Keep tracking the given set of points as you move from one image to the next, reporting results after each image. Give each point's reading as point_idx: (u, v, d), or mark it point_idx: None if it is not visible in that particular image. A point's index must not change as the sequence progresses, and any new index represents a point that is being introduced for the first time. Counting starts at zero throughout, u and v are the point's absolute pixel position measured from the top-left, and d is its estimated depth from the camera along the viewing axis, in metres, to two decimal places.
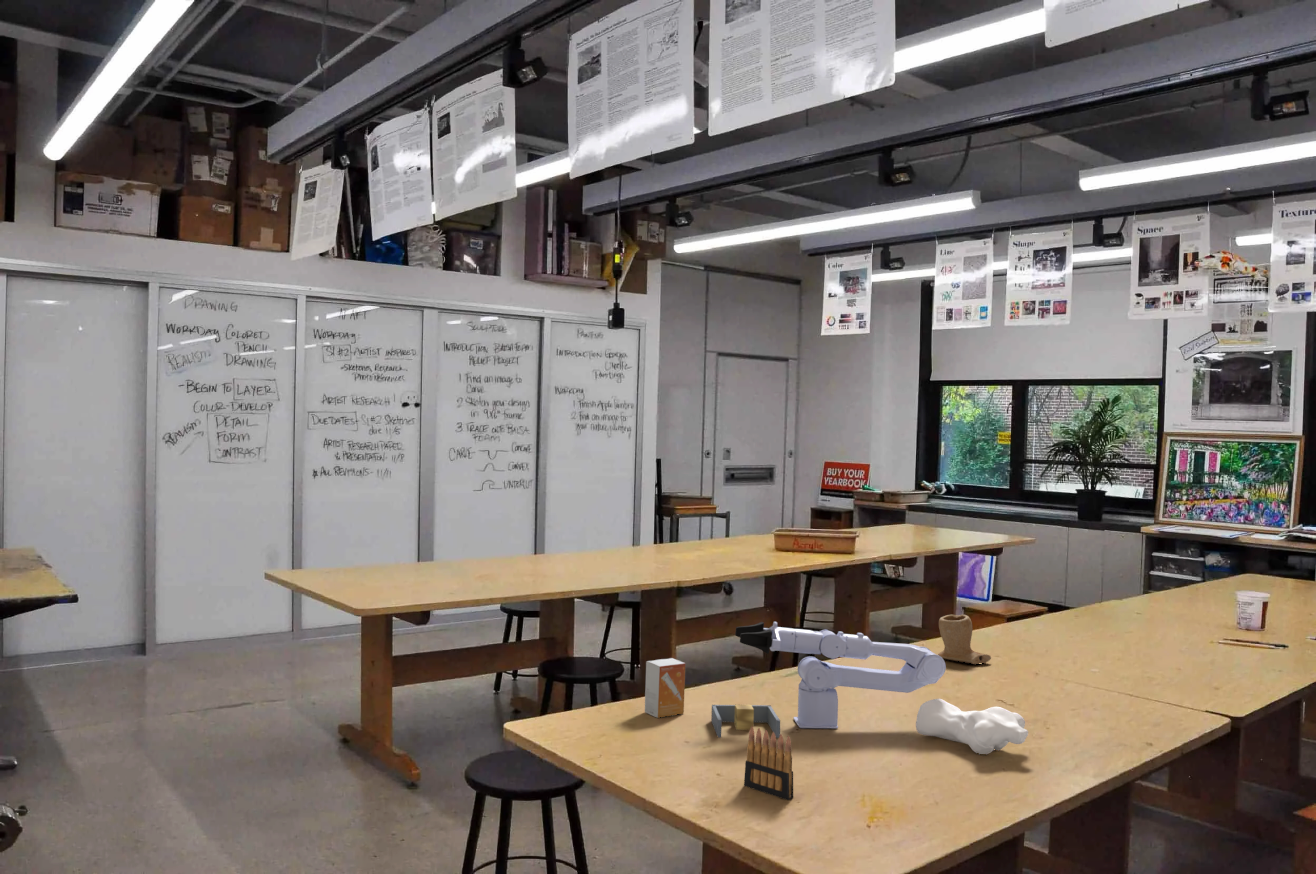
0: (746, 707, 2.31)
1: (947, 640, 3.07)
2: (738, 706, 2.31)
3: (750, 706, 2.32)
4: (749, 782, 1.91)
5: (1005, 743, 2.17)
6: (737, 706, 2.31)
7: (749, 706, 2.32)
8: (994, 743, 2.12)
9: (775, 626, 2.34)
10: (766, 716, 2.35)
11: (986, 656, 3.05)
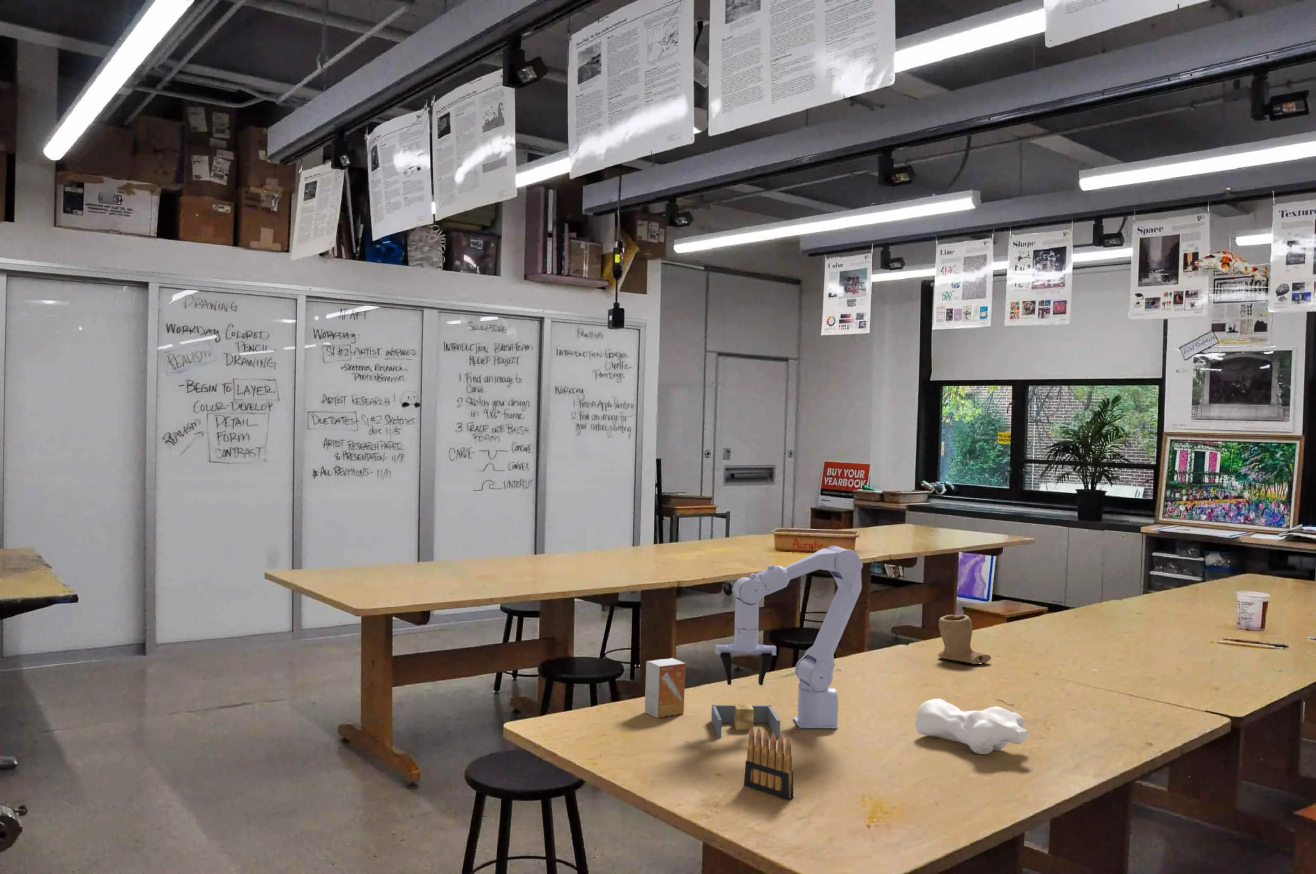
0: (746, 707, 2.31)
1: (947, 640, 3.07)
2: (738, 706, 2.31)
3: (750, 706, 2.32)
4: (749, 782, 1.91)
5: (1004, 743, 2.17)
6: (737, 706, 2.31)
7: (749, 706, 2.32)
8: (993, 743, 2.12)
9: (752, 650, 2.28)
10: (766, 716, 2.35)
11: (986, 656, 3.05)
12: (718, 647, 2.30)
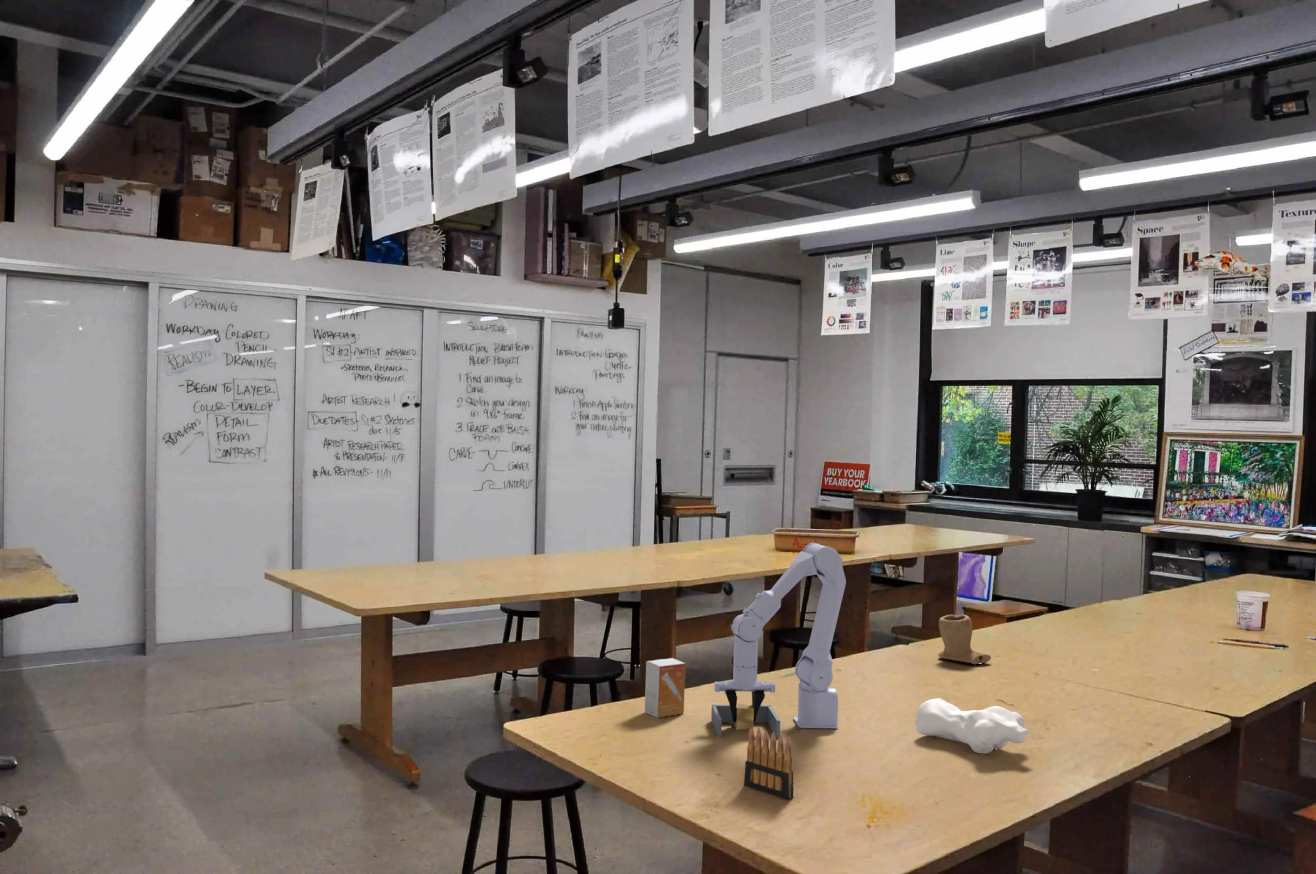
0: (746, 707, 2.31)
1: (947, 640, 3.07)
2: (738, 706, 2.31)
3: (750, 706, 2.32)
4: (749, 782, 1.91)
5: (1005, 742, 2.18)
6: (737, 706, 2.31)
7: (749, 706, 2.32)
8: (994, 742, 2.12)
9: (751, 688, 2.28)
10: (766, 716, 2.35)
11: (986, 656, 3.05)
12: (717, 684, 2.30)
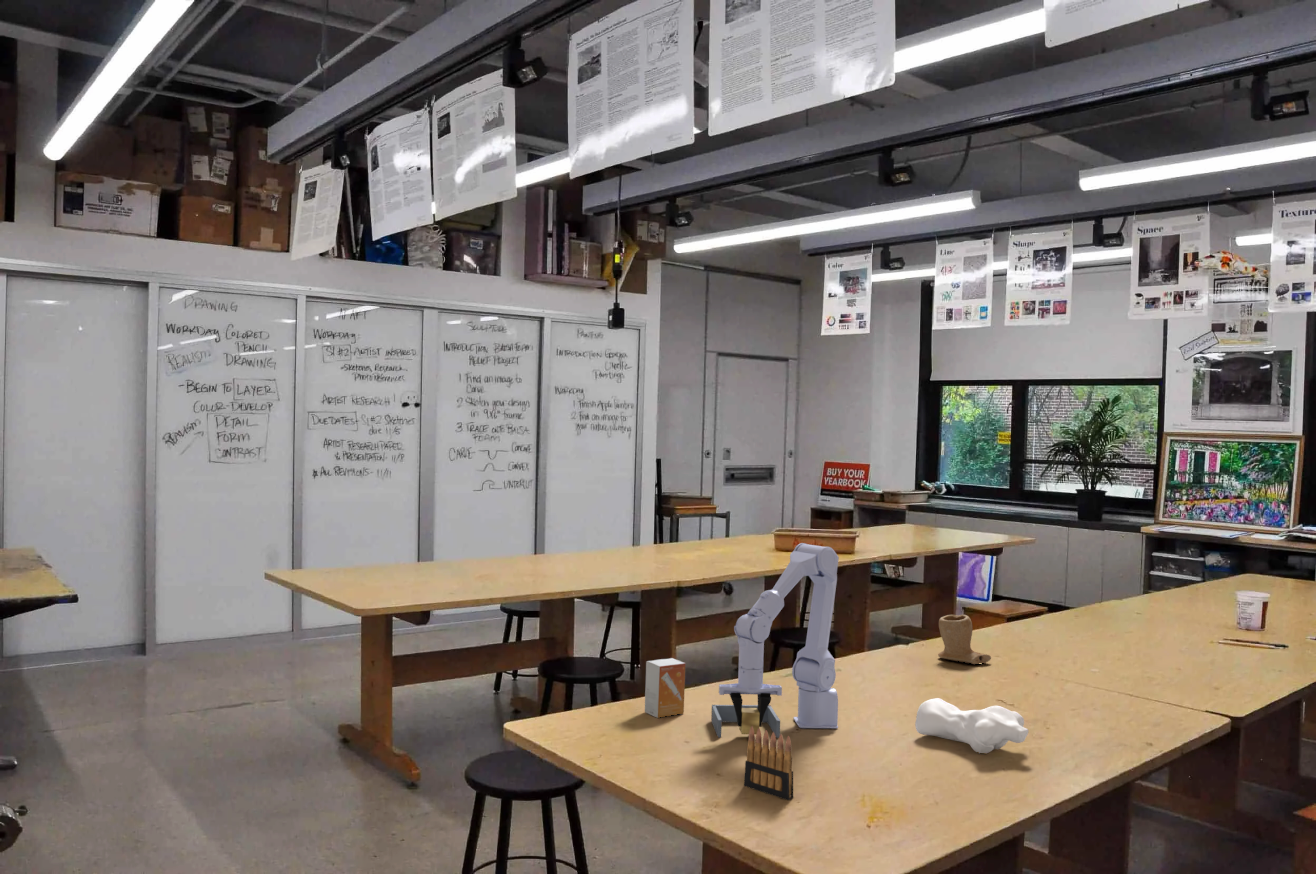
0: (751, 710, 2.22)
1: (947, 640, 3.07)
2: (743, 709, 2.23)
3: (756, 709, 2.23)
4: (749, 782, 1.91)
5: (1005, 742, 2.18)
6: (742, 709, 2.23)
7: (755, 709, 2.23)
8: (995, 742, 2.13)
9: (756, 691, 2.20)
10: (766, 716, 2.35)
11: (986, 656, 3.05)
12: (721, 687, 2.22)
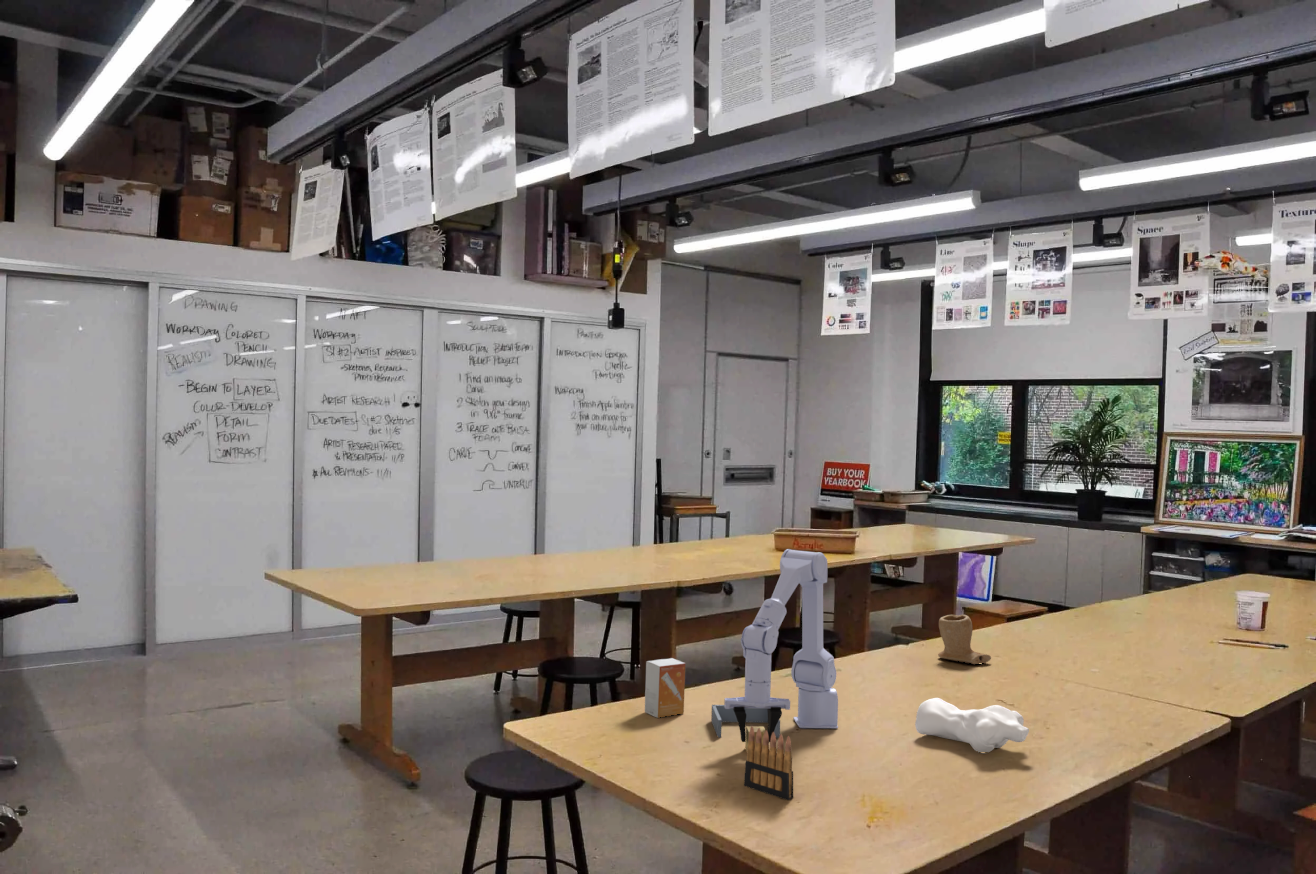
0: None
1: (947, 640, 3.07)
2: None
3: (763, 728, 2.14)
4: (749, 782, 1.91)
5: (1005, 741, 2.18)
6: (748, 728, 2.14)
7: (761, 728, 2.14)
8: (996, 741, 2.13)
9: None
10: (766, 716, 2.35)
11: (986, 656, 3.05)
12: (727, 701, 2.12)
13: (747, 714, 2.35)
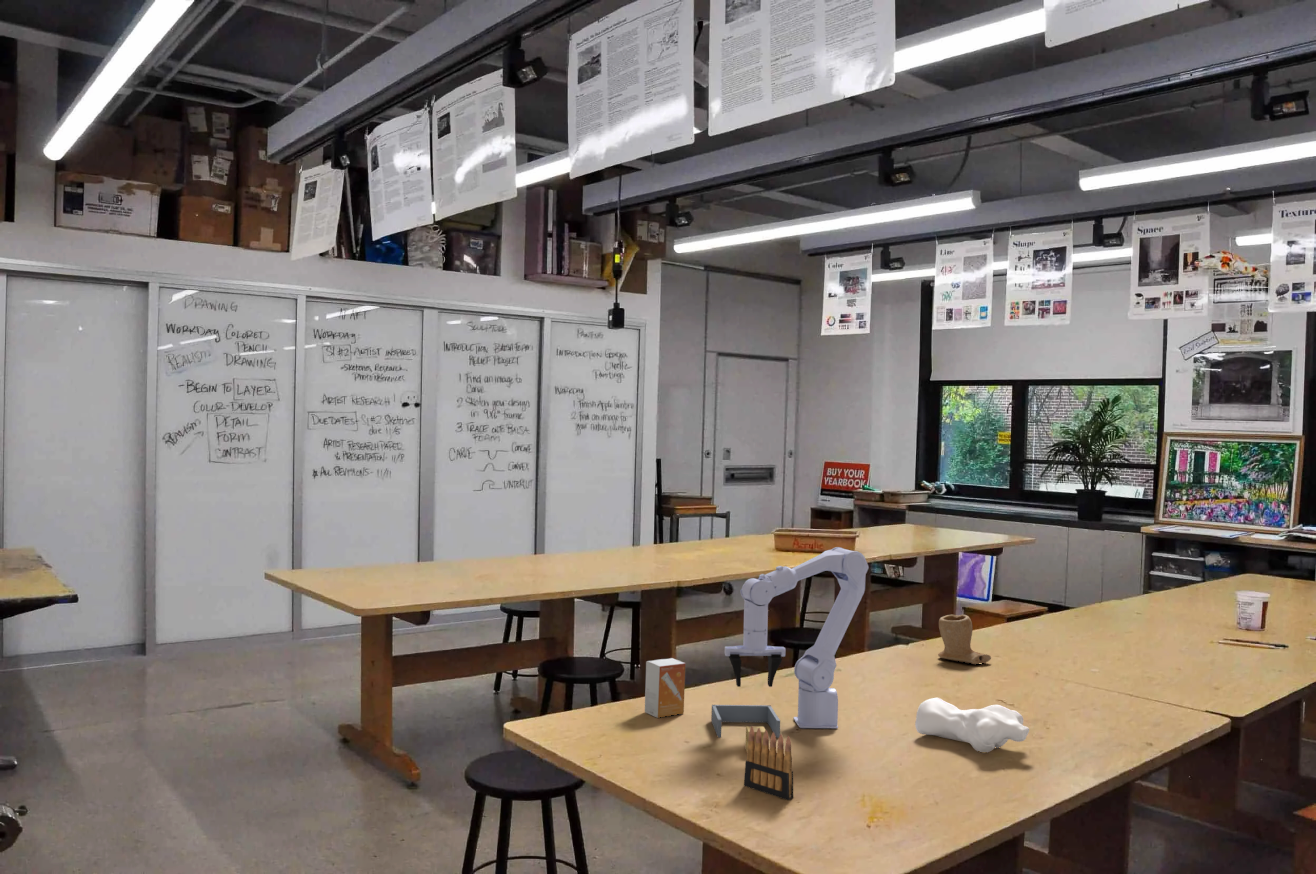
0: None
1: (947, 640, 3.07)
2: None
3: (763, 728, 2.14)
4: (749, 782, 1.91)
5: (1005, 741, 2.19)
6: (748, 728, 2.14)
7: (761, 728, 2.14)
8: (996, 741, 2.13)
9: (761, 652, 2.27)
10: (766, 716, 2.35)
11: (986, 656, 3.05)
12: (727, 649, 2.29)
13: (747, 714, 2.35)
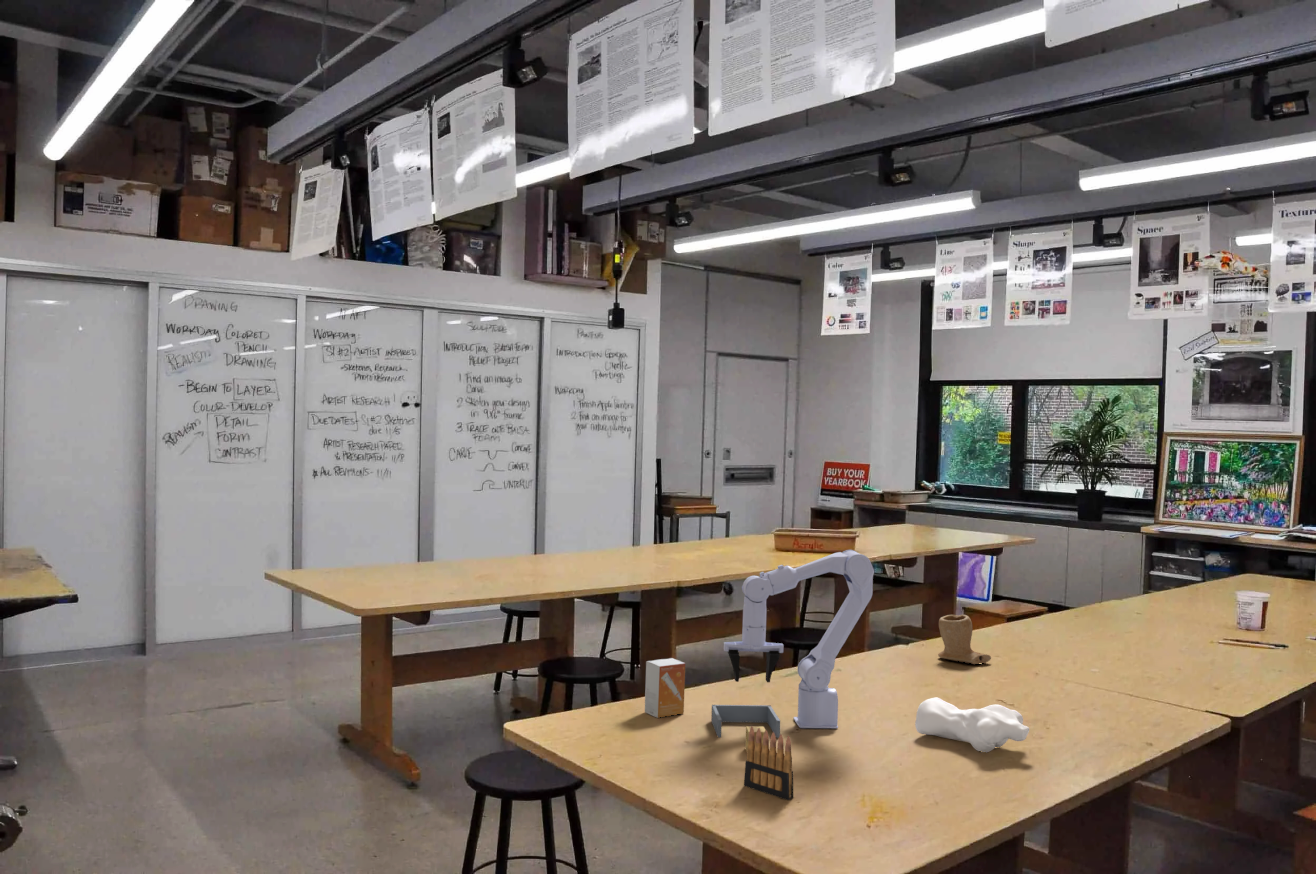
0: None
1: (947, 640, 3.07)
2: None
3: (763, 728, 2.14)
4: (749, 782, 1.91)
5: (1005, 740, 2.19)
6: (748, 728, 2.14)
7: (761, 728, 2.14)
8: (996, 741, 2.14)
9: (759, 648, 2.31)
10: (766, 716, 2.35)
11: (986, 656, 3.05)
12: (726, 644, 2.33)
13: (747, 714, 2.35)
